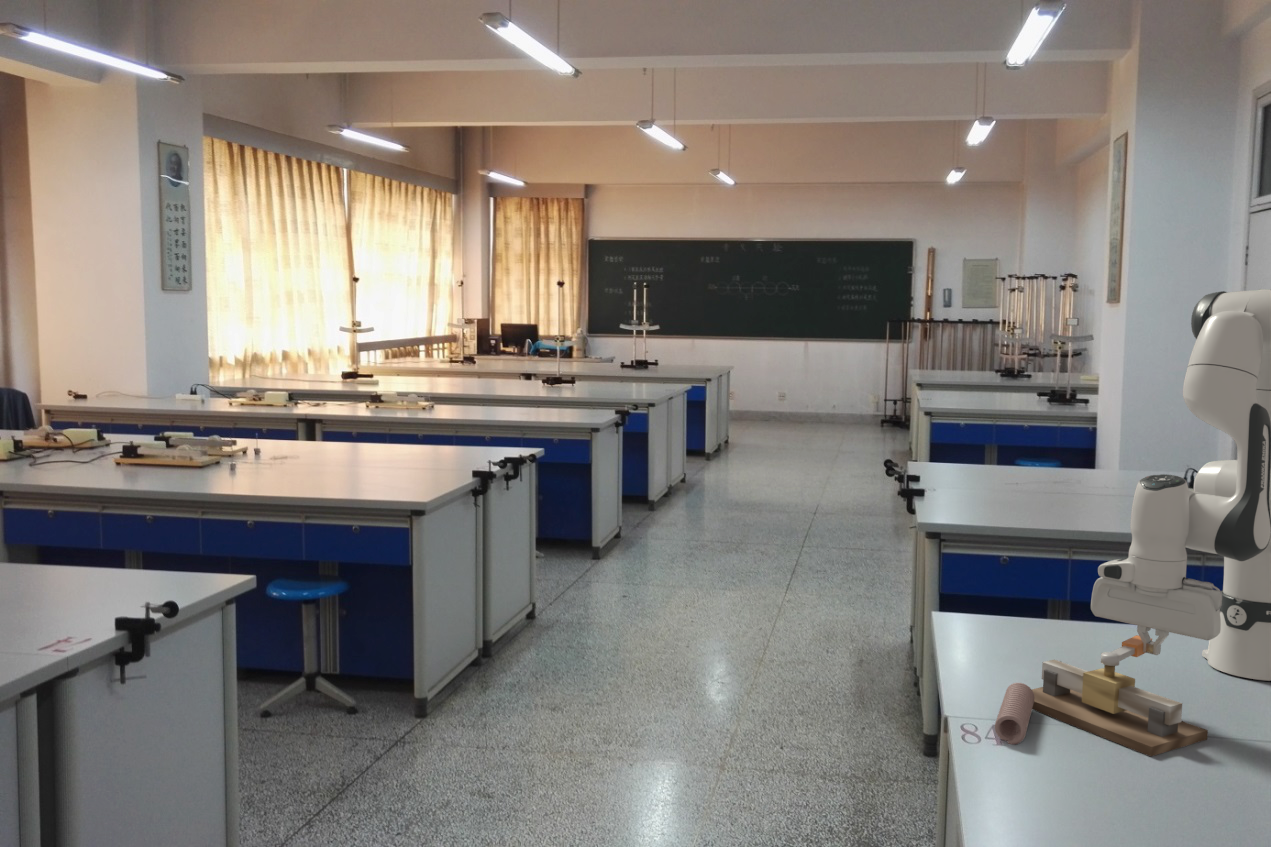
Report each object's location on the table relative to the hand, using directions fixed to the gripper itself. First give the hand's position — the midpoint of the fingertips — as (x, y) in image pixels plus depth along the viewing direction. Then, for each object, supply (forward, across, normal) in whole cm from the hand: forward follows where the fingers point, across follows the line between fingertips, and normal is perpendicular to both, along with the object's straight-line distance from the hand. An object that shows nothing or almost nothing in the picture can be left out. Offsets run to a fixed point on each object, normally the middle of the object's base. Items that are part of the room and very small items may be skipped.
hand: (1151, 653), depth 186 cm
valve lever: (0, +2, +5) cm, 5 cm away
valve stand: (+10, +2, +11) cm, 15 cm away
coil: (+10, +11, +24) cm, 28 cm away
